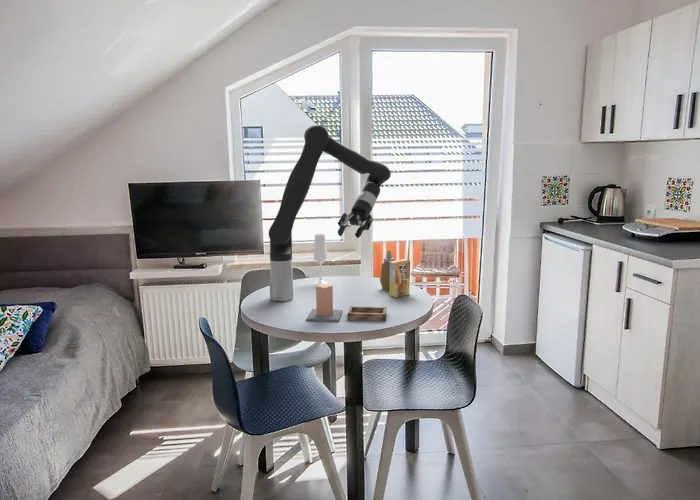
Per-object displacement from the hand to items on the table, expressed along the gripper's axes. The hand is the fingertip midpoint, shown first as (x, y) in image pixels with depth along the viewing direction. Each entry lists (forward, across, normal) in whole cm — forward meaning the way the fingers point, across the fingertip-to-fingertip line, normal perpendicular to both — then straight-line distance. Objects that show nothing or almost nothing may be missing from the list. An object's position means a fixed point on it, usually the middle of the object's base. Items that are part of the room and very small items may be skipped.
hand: (347, 235), depth 186 cm
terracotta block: (+31, +1, +8) cm, 32 cm away
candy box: (+3, +9, +38) cm, 39 cm away
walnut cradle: (+26, +14, +15) cm, 33 cm away
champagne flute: (+5, -33, +36) cm, 49 cm away
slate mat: (+32, +1, +9) cm, 33 cm away
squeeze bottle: (-2, 0, +43) cm, 43 cm away
